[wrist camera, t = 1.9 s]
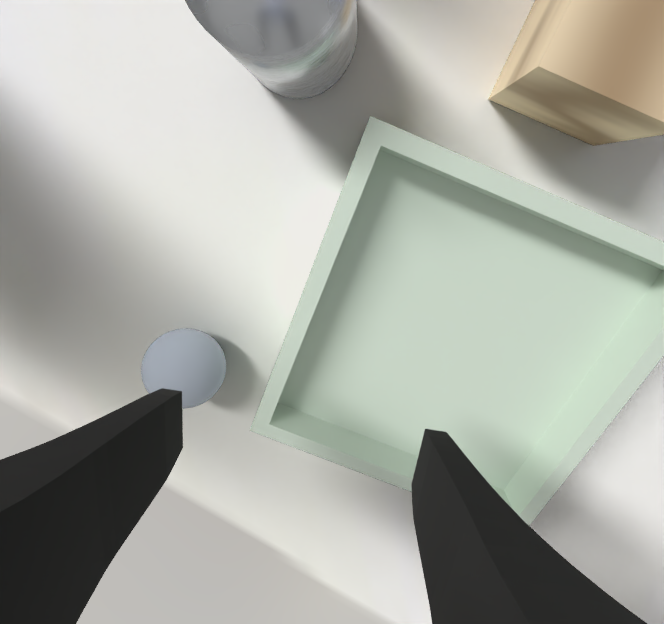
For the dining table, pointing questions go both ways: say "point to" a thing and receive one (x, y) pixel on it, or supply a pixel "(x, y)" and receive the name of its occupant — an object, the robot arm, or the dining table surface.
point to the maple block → (589, 69)
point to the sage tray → (464, 323)
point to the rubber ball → (185, 365)
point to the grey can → (285, 39)
